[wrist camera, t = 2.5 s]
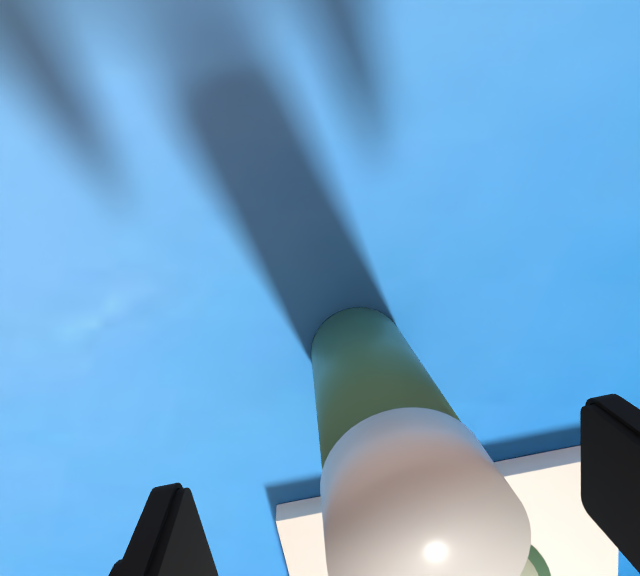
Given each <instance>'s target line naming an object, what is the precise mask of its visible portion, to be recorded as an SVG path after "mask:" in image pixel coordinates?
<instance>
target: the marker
mask: <svg viewBox="0 0 640 576" xmlns="http://www.w3.org/2000/svg"><path fill="white" fill-rule="evenodd" d="M311 358H312V368H313V378H314V389H315V399H316V410H317V420H318V430H319V441H320V451H321V462H322V474H321V479H320V494H321V506H322V518H323V530H324V543H325V555H326V565H327V572H328V576H520V574H521V572H522V570H523V568H524V566H525V564H526V561H527V558H528V555H529V551H530V546H531V528H530V522H529V518H528V515H527V512H526V510H525V508H524V506H523V504H522V502H521V501H520V499H519V498H518V496H517V495H516V494H515V492H514V491H513V489H512V488H511V486H510V485H509V484H508V482H507V481H506V479H505V478H504V476H503V475H502V473H501V472H500V471H499V469H498V468H497V466H496V465H495V463H494V462H493V460H492V459H491V458H490V456H489V455H488V453H487V452H486V450H485V449H484V448H483V446H482V445H481V443H480V442H479V440H478V439H477V438H476V436H475V435H474V434H473V432H472V431H471V430H470V429H469V428H468V427H467V426H466V425H464V424H463V423H461V421H460V420H459V418H458V417H457V415H456V414H455V412H454V411H453V409H452V408H451V406H450V405H449V403H448V402H447V400H446V399H445V397H444V396H443V394H442V393H441V391H440V390H439V389H438V387H437V386H436V384H435V383H434V381H433V380H432V378H431V377H430V375H429V374H428V372H427V371H426V369H425V368H424V366H423V365H422V363H421V362H420V360H419V359H418V357H417V356H416V355H415V353H414V352H413V350H412V349H411V347H410V346H409V344H408V343H407V341H406V340H405V338H404V337H403V335H402V334H401V332H400V331H399V329H398V328H397V326H396V325H395V324H394V322H393V321H392V320H391V319H390V318H388V317H387V316H386V315H384V314H383V313H381V312H379V311H376V310H373V309H370V308H363V307H356V308H349V309H345V310H342V311H340V312H337V313H336V314H334V315H332V316H331V317H329V318H328V319H327V320H326V321H325V322H324V323H323V324H322V325H321V326H320V327H319V329H318V330H317V332H316V334H315V336H314V339H313V342H312V348H311Z"/></svg>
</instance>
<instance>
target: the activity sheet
mask: <svg viewBox="0 0 640 576" xmlns="http://www.w3.org/2000/svg"><path fill="white" fill-rule="evenodd" d="M494 463H495V465H496V466H497V468H498V469H499V471H500V472H501V473H502V475H503V476H504V478H505V479H506V481H507V482H508V484H509V485H510V486H511V488H512V489H513V491H514V492H515V494H516V495H517V496H518V498H519V499H520V501H521V502H522V504H523V506H524V508H525V510H526V512H527V515H528V518H529V522H530V528H531V546H530V551H529V555H528V558H527V561H526V564H525V566H524V568H523V570H522V572H521V574H520V576H618V548H617V547H616V546H615V545H614V543H613V542H612V541H611V540H610V539H609V538H608V537H607V536H606V534H605V533H604V532H603V531H602V530H601V529H600V528H599V526H598V525H597V524H596V523H595V522H594V521H593V520H592V518H591V517H590V516H589V515H588V514H587V512H586V510H585V509H584V507H583V504H582V501H581V445H580V446H574V447H569V448H564V449H559V450H554V451H549V452H544V453H539V454H534V455H528V456H523V457H518V458H513V459H508V460H503V461H498V462H494ZM276 524H277V528H278V532H279V536H280V540H281V544H282V548H283V552H284V555H285V559H286V563H287V567H288V571H289V575H290V576H328V572H327V565H326V555H325V543H324V530H323V518H322V506H321V496H319V497H314V498H309V499H304V500H299V501H293V502H288V503H283V504H278V505H277V508H276Z"/></svg>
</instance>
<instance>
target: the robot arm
mask: <svg viewBox="0 0 640 576" xmlns="http://www.w3.org/2000/svg"><path fill="white" fill-rule="evenodd" d="M581 501H582V504H583V507H584V509H585V510H586V512H587V514H588V515H589V516H590V517H591V518H592V520H593V521H594V522H595V523H596V524H597V525H598V526H599V528H600V529H601V530H602V531H603V532H604V533H605V534H606V536H607V537H608V538H609V539H610V540H611V541H612V542H613V543H614V545H615V546H616V547H617V548H618V549H619V550H620V551H621V553H622V554H623V555H624V556H625V557H626V558H627V559H628V561H629V562H630V563H631V564H632V565H633V566H634V567H635V569H636V570H637V571H638V572H639V573H640V409H638V408H637V407H635V406H634V405H632V404H631V403H629V402H628V401H626V400H625V399H623V398H622V397H620V396H618V395H616V394H609V395H604V396H599V397H594V398H590V399H588V400H587V402H586V405H585V406H584V407H582V409H581ZM109 576H218V573H217V570H216V567H215V564H214V561H213V557H212V554H211V551H210V548H209V545H208V542H207V539H206V536H205V533H204V530H203V527H202V523H201V520H200V517H199V514H198V511H197V508H196V505H195V502H194V499H193V496H192V493H191V490H190V489H189V488H183V487H182V485H181V484H180V483H174V484H169V485H164V486H159V487H155V488H153V489H152V491H151V493H150V495H149V497H148V500H147V502H146V504H145V507H144V509H143V512H142V514H141V516H140V519H139V521H138V524H137V526H136V528H135V531H134V533H133V535H132V538H131V540H130V543H129V545H128V547H127V550H126V552H125V554H124V557H123V559H121V560H119V561H118V562H116V563H115V564H114V566H113V568H112V570H111V572H110V574H109Z"/></svg>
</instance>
